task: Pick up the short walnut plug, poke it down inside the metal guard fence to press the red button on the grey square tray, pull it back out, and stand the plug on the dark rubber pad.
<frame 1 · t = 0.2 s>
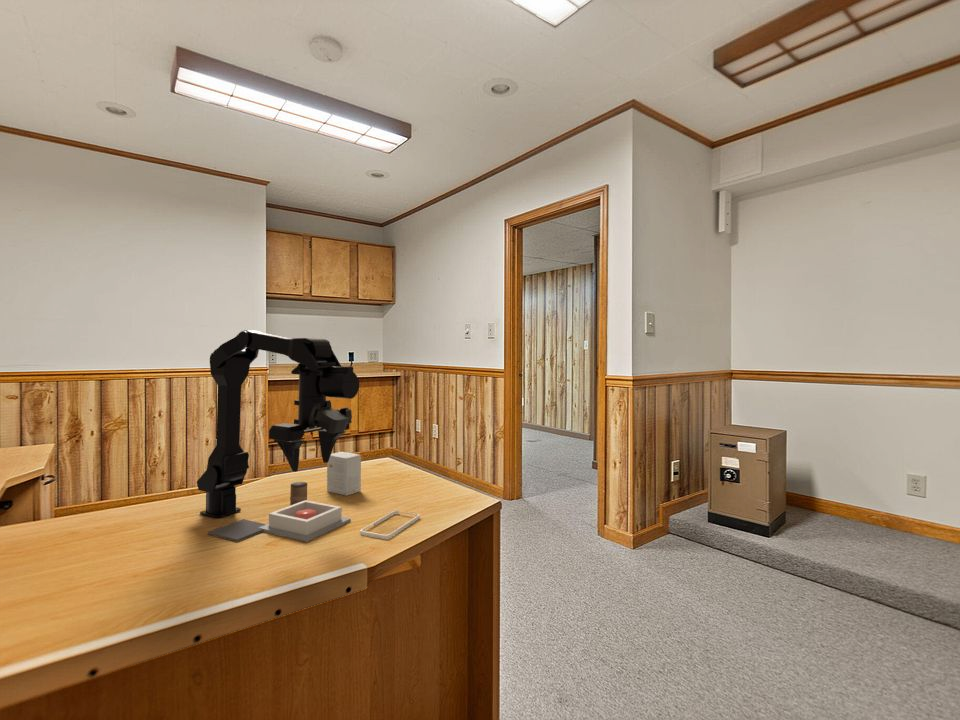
hand: (310, 466, 106), 14 cm above the worktop, tool pointing down, fingers open, 9 cm apart
grey square tray: (305, 525, 110), on the worktop
pad: (240, 530, 106), on the worktop
button: (306, 515, 110), point 2 cm above the worktop, slide at 0.0 cm
dowel: (298, 505, 124), on the worktop
phone case: (391, 528, 111), on the worktop
small box: (343, 492, 137), on the worktop
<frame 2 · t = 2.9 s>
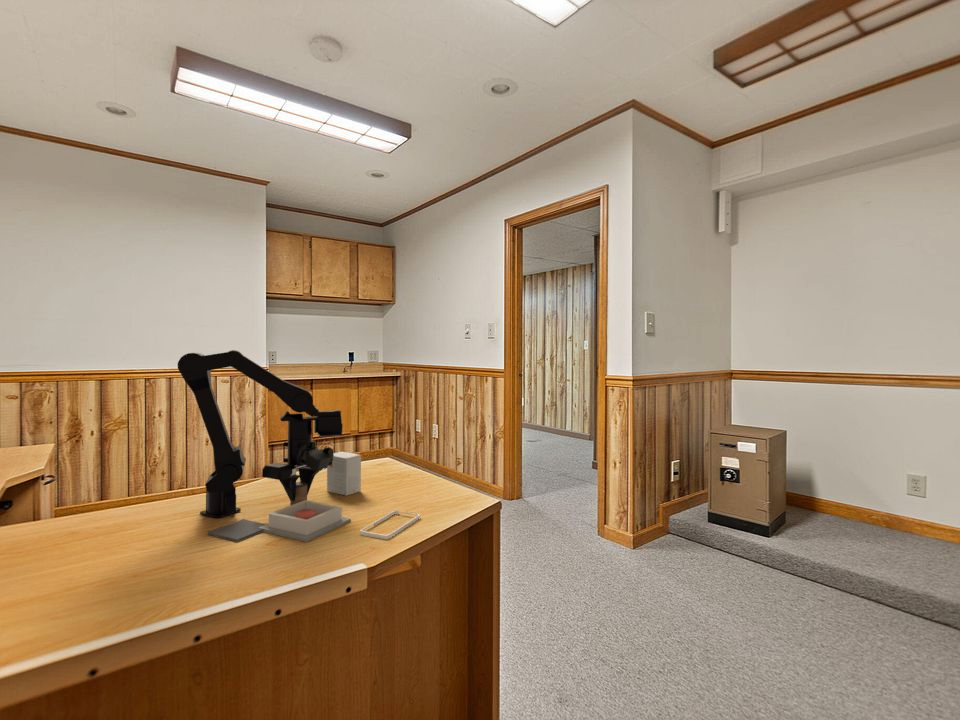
hand: (298, 498, 124), 2 cm above the worktop, tool pointing down, fingers closed on dowel, 4 cm apart
dowel: (298, 505, 124), on the worktop, touching gripper
everything else where it was.
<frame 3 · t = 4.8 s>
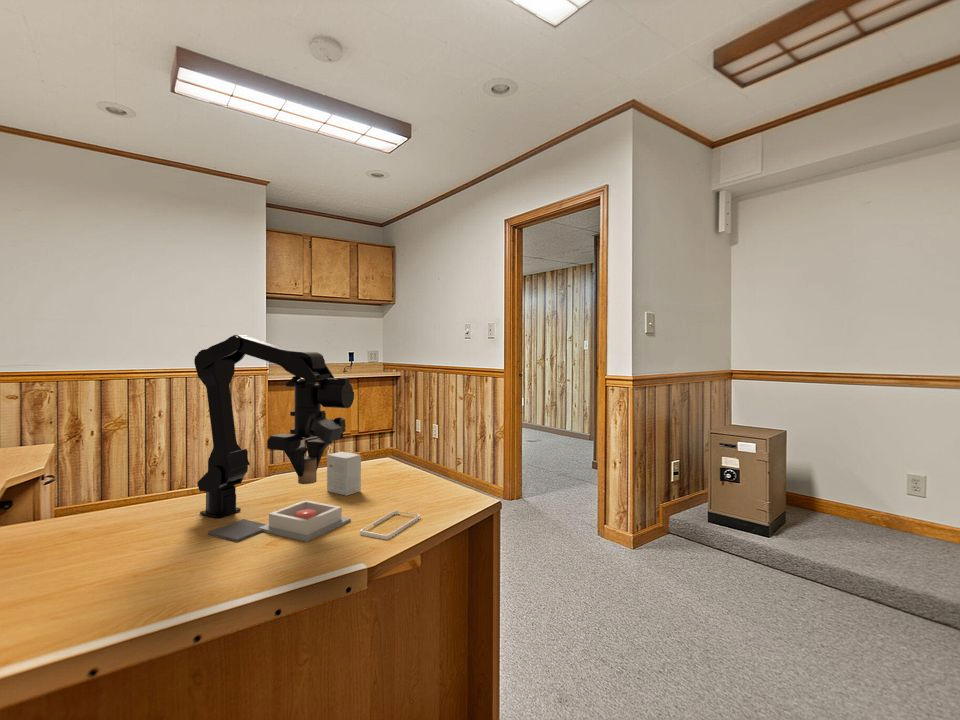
hand: (307, 474, 111), 11 cm above the worktop, tool pointing down, fingers closed on dowel, 4 cm apart
dowel: (307, 481, 112), point 10 cm above the worktop, touching gripper
everything else where it was.
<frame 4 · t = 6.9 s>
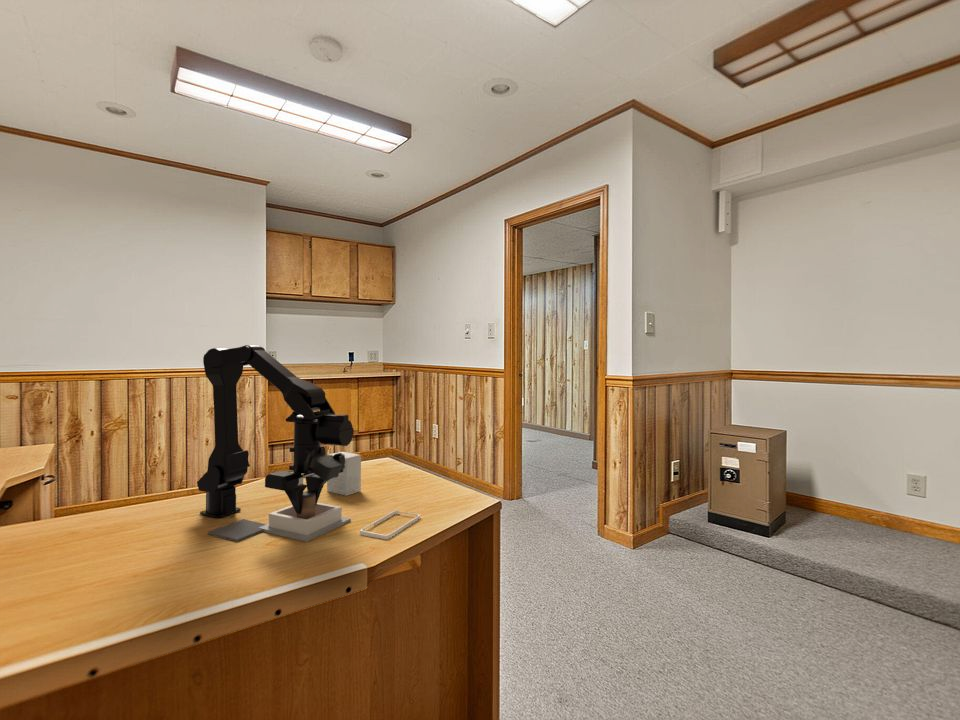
hand: (305, 510, 110), 3 cm above the worktop, tool pointing down, fingers closed on dowel, 4 cm apart
button: (305, 521, 110), point 1 cm above the worktop, slide at 1.3 cm, touching dowel
dowel: (305, 517, 110), point 2 cm above the worktop, touching button, gripper
everything else where it was.
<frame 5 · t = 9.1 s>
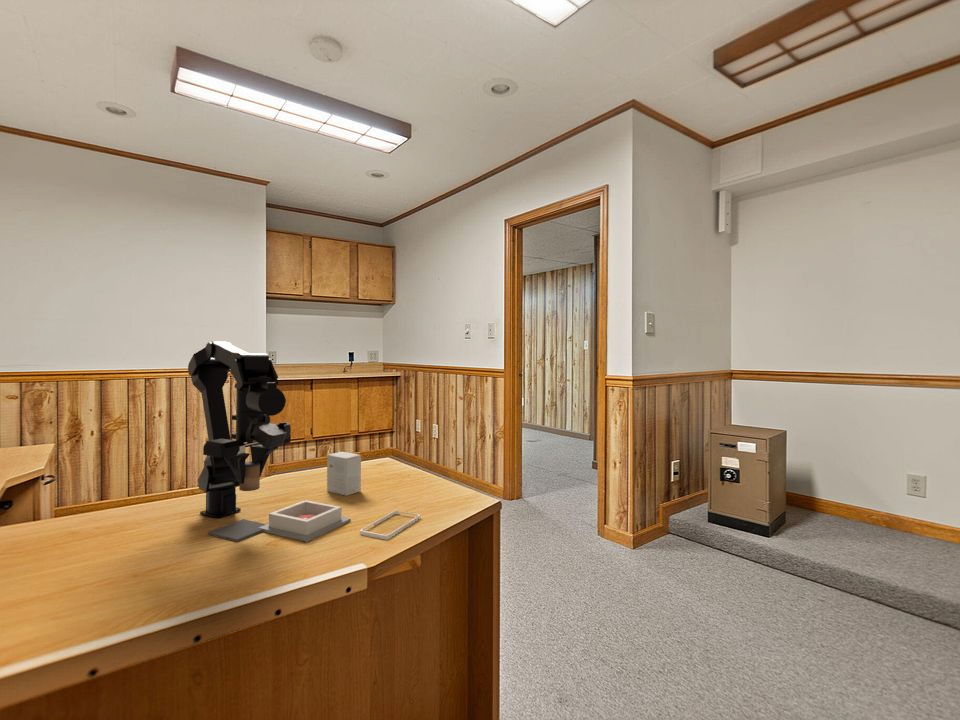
hand: (249, 481, 106), 11 cm above the worktop, tool pointing down, fingers closed on dowel, 4 cm apart
button: (305, 521, 110), point 1 cm above the worktop, slide at 1.3 cm
dowel: (249, 488, 106), point 9 cm above the worktop, touching gripper
everything else where it was.
when the fingers open (3 cm above the worktop, at t = 11.0 s): dowel drops 1 cm, resting on pad.
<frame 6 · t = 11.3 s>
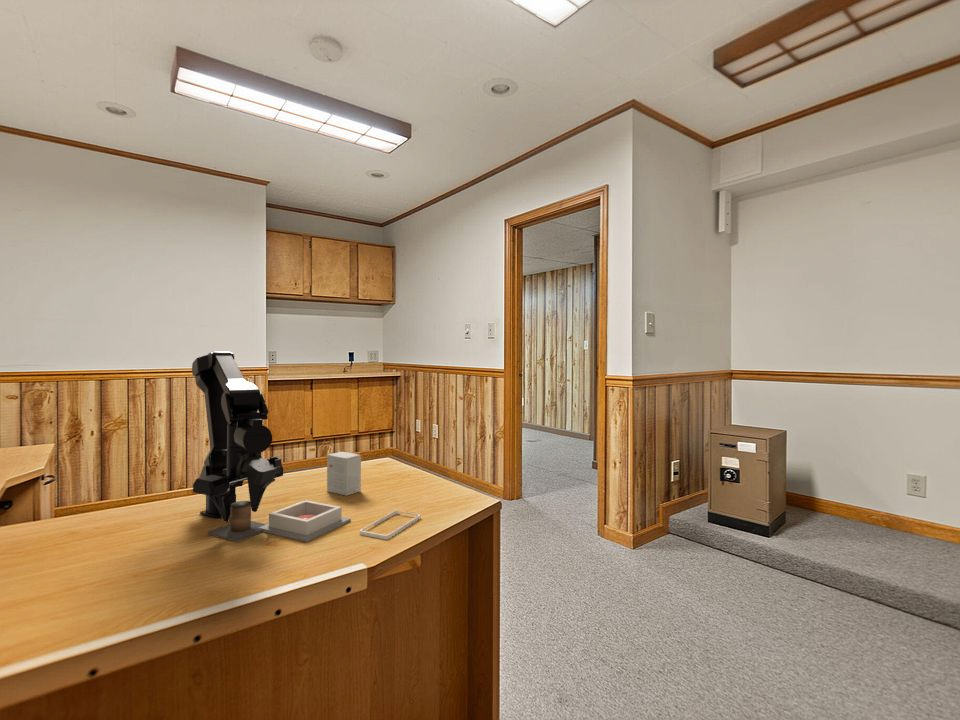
hand: (240, 516, 106), 3 cm above the worktop, tool pointing down, fingers open, 7 cm apart
dowel: (240, 528, 106), point 1 cm above the worktop, touching pad
everything else where it was.
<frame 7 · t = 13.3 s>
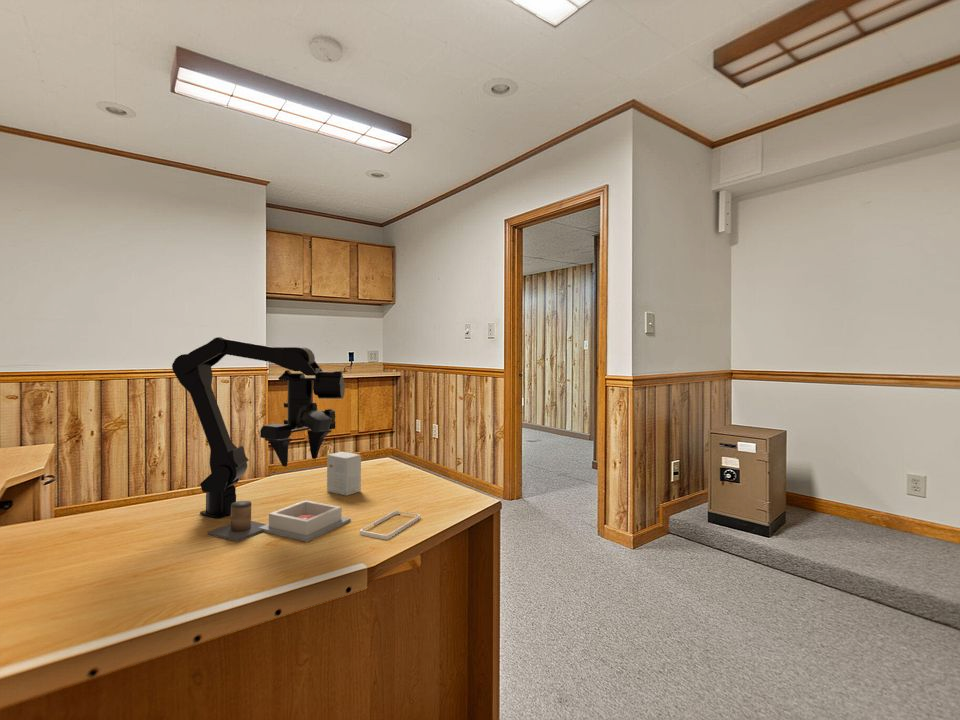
hand: (300, 462, 118), 12 cm above the worktop, tool pointing down, fingers open, 9 cm apart
nothing on the worktop moved.
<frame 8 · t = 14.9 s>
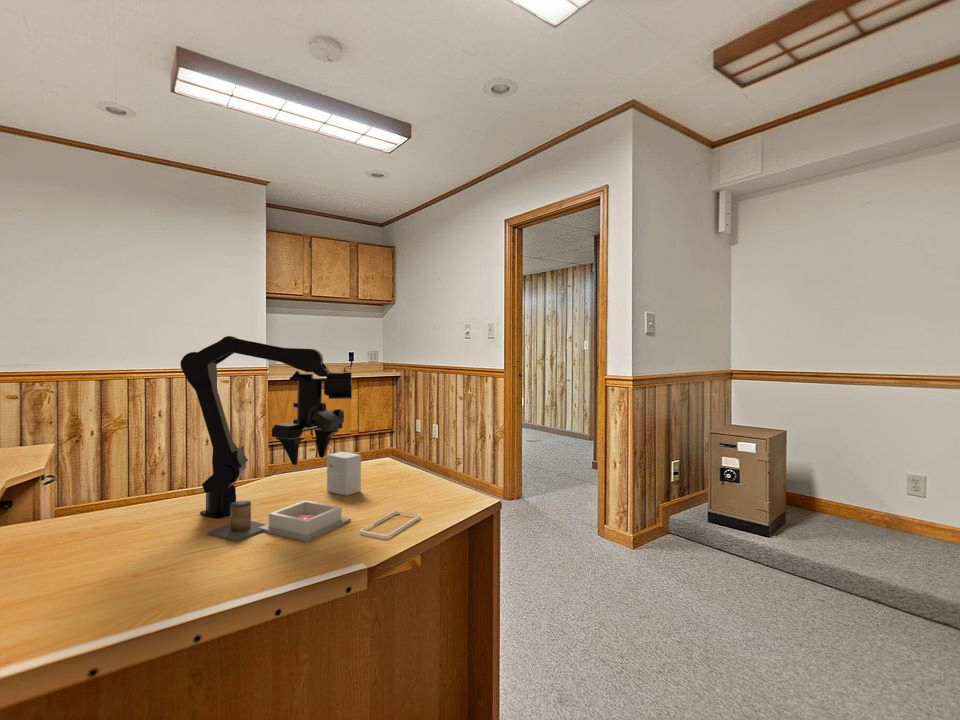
hand: (308, 461, 121), 12 cm above the worktop, tool pointing down, fingers open, 9 cm apart
nothing on the worktop moved.
at the end: button slide at 1.3 cm; dowel inside the target area on the pad (0.0 cm from its centre), point 0.6 cm above the pad's base; the gripper is holding nothing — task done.
